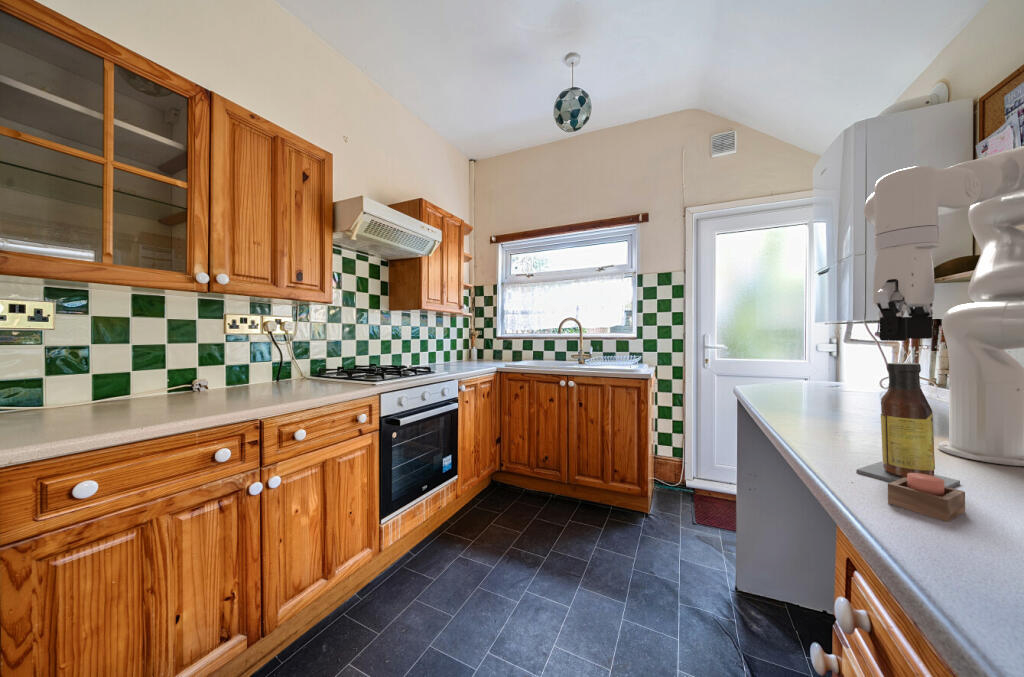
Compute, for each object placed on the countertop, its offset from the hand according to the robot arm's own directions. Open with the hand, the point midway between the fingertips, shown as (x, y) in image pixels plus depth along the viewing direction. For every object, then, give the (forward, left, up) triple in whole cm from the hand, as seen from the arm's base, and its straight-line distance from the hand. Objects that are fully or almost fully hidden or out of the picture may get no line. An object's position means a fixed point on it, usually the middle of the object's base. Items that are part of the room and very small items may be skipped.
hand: (906, 339), depth 63 cm
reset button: (+12, +6, -23) cm, 26 cm away
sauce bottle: (0, 0, -24) cm, 24 cm away
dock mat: (0, 0, -25) cm, 25 cm away
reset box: (+12, +6, -25) cm, 28 cm away
